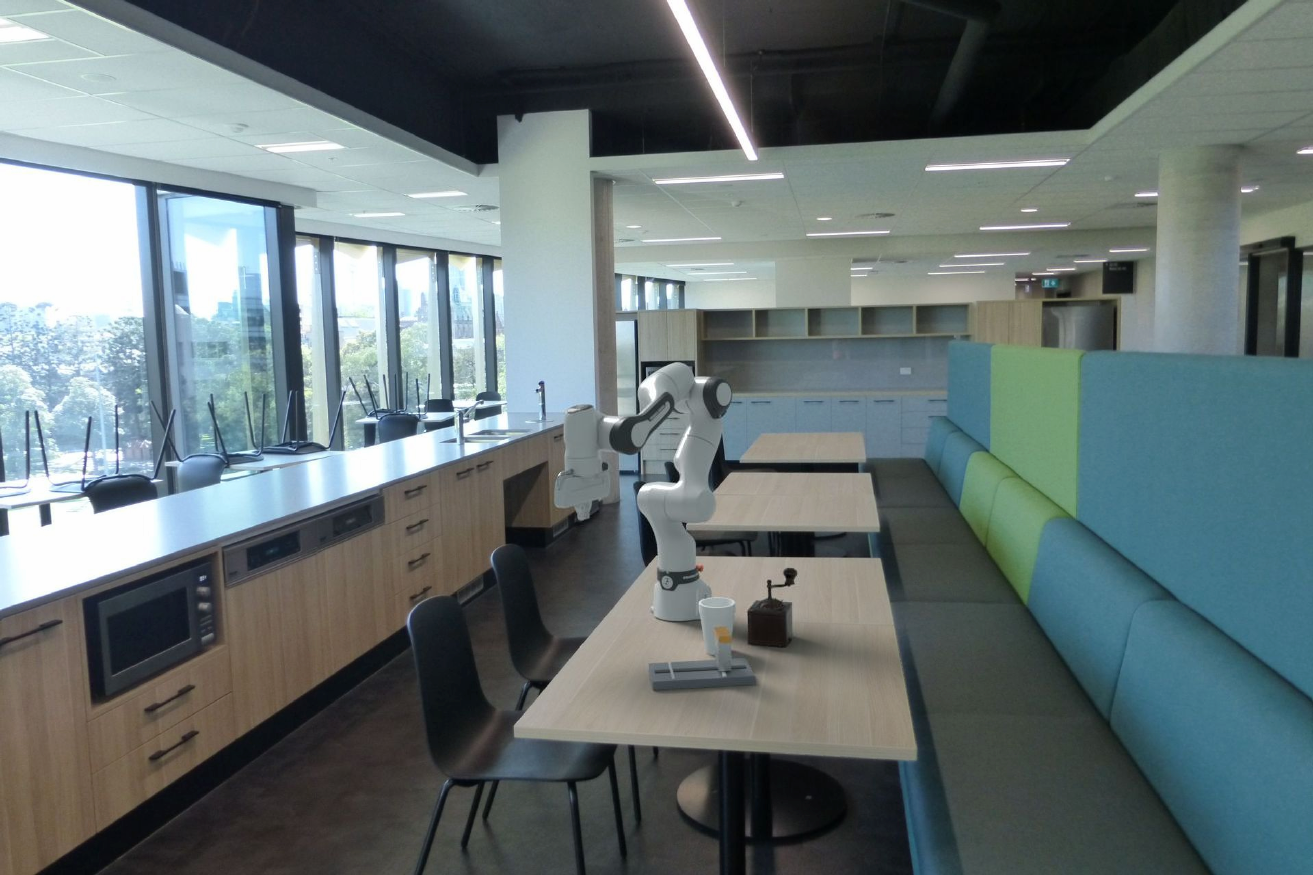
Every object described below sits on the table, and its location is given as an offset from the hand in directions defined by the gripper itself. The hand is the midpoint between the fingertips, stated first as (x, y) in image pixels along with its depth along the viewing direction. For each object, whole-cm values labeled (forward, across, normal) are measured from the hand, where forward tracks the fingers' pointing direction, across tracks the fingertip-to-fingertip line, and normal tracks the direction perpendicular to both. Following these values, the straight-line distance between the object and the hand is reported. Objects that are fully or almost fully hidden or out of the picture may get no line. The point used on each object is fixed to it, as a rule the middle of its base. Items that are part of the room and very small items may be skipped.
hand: (583, 519), depth 237 cm
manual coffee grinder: (+34, +29, -41) cm, 61 cm away
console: (+34, -6, -38) cm, 51 cm away
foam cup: (+34, +12, -33) cm, 49 cm away
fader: (+32, -3, -42) cm, 53 cm away
